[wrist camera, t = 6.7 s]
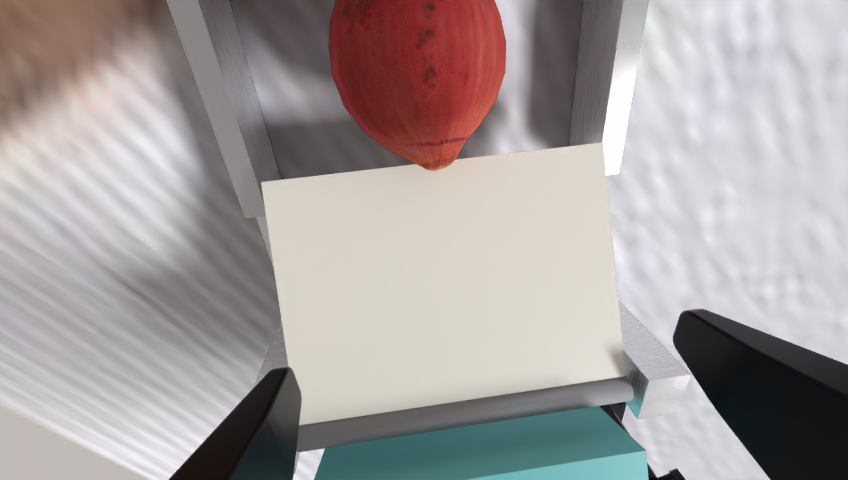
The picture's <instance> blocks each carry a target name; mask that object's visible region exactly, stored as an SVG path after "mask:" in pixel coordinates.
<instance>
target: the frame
mask: <svg viewBox="0 0 848 480" xmlns="http://www.w3.org/2000/svg"><path fill="white" fill-rule="evenodd" d="M166 1H167V4H168V7H169V9H170V12H171V15H172V18H173V21H174V23H175V26H176V29H177V32H178V34H179V37H180V40H181V43H182V46H183V48H184V51H185V54H186V57H187V59H188V62H189V65H190V68H191V71H192V73H193V76H194V79H195V82H196V84H197V87H198V90H199V93H200V96H201V98H202V101H203V104H204V107H205V109H206V112H207V115H208V118H209V121H210V123H211V126H212V129H213V132H214V134H215V137H216V140H217V143H218V146H219V148H220V151H221V154H222V157H223V159H224V162H225V165H226V168H227V170H228V173H229V176H230V179H231V182H232V184H233V187H234V190H235V193H236V195H237V198H238V201H239V204H240V207H241V209H242V212H243V215H244V218H245V219H247V218H255V217H256V219H257V222H258V225H259V228H260V231H261V234H262V237H263V240H264V243H265V245H266V248H267V251H268V254H269V257H270V260H271V263H272V266H273V259H272V253H271V246H270V239H269V232H268V226H267V219H266V212H265V206H264V199H263V192H262V185H261V182H267V181H275V180H281V177H280V174H279V170H278V167H277V163H276V160H275V157H274V153H273V150H272V146H271V143H270V139H269V136H268V132H267V129H266V126H265V122H264V119H263V115H262V112H261V108H260V105H259V101H258V98H257V95H256V91H255V88H254V84H253V81H252V77H251V74H250V70H249V67H248V64H247V60H246V57H245V53H244V50H243V46H242V43H241V39H240V36H239V33H238V29H237V26H236V22H235V19H234V15H233V12H232V8H231V5H230V2H229V0H166ZM648 2H649V0H584V2H583V12H582V22H581V31H580V41H579V51H578V61H577V70H576V80H575V90H574V99H573V109H572V119H571V129H570V138H569V146H576V145H585V144H594V143H602V142H603V144H604V155H605V165H606V175H610V174H618V173H619V168H620V162H621V156H622V151H623V145H624V139H625V133H626V128H627V122H628V116H629V111H630V105H631V99H632V93H633V88H634V82H635V76H636V71H637V65H638V59H639V53H640V48H641V42H642V36H643V31H644V25H645V19H646V13H647V8H648ZM273 269H274V266H273ZM618 303H619V313H620V324H621V334H622V345H623V355H624V366H625V375H626V376H627V377H628V379H629V380H630V382H631V385H632V388H633V392H634V396H633V399H632V401H627V402H626V404H627V405H628V406H629V408H630V409H631V411H632V412H633V414H634V415H635V416H636V418H637V419H642V418H649V417H655V416H661V415H668V414H674V413H677V412H678V409H679V406H680V404H681V401H682V399H683V396H684V393H685V391H686V388H687V385H688V383H689V380H690V378H691V375H692V374H691V373H690V372H689V371H688V370H687V369H686V368H685V367H684V366H683V365H682V364H681V363H680V362H679V361H678V360H677V359H676V358H675V357H674V356H673V355H672V354H671V353H670V352H669V351H668V350H667V349H666V348H665V347H664V346H663V345H662V344H661V343H660V342H659V341H658V340H657V339H656V338H655V337H654V336H653V335H652V334H651V333H650V332H649V331H648V330H647V329H646V328H645V326H644V325H643V324H642V323H641V322H640V321H639V320H638V319H637V318H636V317H635V316H634V315H633V314H632V313H631V312H630V311H629V310H628V309H627V308H626V307H625V306H624V305H623V304H622V303H621V302H620V301H619V300H618ZM282 367H288V360H287V353H286V347H285V340H284V333H283V327H282V320H280V323H279V325H278V328H277V330H276V333H275V335H274V338H273V340H272V343H271V345H270V348H269V350H268V353H267V355H266V358H265V360H264V363H263V365H262V368H261V370H260V373H259V375H258V378H257V380H256V383H255V385H254V387H255V386H256V385H257V384H258V383H259V382H260V380H261V379H262V378H263V377H264V376H265V375H266V374H267V373H268V372H269V371H270V370H272V369H275V368H282ZM298 457H299V452H297V451H296V458H295V467H294V473H295V471H296V466H297V462H298Z"/></svg>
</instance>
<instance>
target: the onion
mask: <svg viewBox="0 0 848 480" xmlns="http://www.w3.org/2000/svg"><path fill="white" fill-rule="evenodd" d="M329 55H330V62H331V69H332V76H333V79H334V81H335V84H336V86H337V89H338V92H339V94H340V97H341V100H342V102H343V105H344V107H345V108H346V109H347V111H348V112H349V113H350V115H351V116H352V117H353V119H354V120H355V121H356V122H357V124H358V125H359V126H360V128H361V129H362V130H363V131H364V132H365V133H366V134H368V135H369V136H370V137H371V138H373V139H374V140H375V141H376V142H378V143H379V144H380V145H381V146H383V147H385V148H386V149H388V150H390V151H392V152H394V153H395V154H397V155H399V156H401V157H403V158H405V159H407V160H409V161H411V162H413V163H415V164H417V165H419V166H421V167H423V168H424V169H426V170H430V171H437V170H441V169H444V168H446V167H448V166H449V165H451V164H452V163H453V162H454V161H455V159H456V158H457V156H458V155H459V152H460V150H461V148H462V147H463V146H464V144H465V143H466V141H467V140H468V138H469V137H470V136H471V135H472V134H473V132H474V131H475V130H476V129H477V127H478V126H479V125H480V124H481V122H482V121H483V119H484V118H485V116H486V115H487V113H488V111H489V110H490V108H491V107H492V105H493V104H494V102H495V101H496V98H497V95H498V92H499V89H500V86H501V83H502V80H503V77H504V74H505V61H506V40H505V35H504V31H503V26H502V21H501V16H500V13H499V11H498V8H497V6H496V3H495V1H494V0H336V2H335V5H334V9H333V13H332V17H331V21H330V30H329Z"/></svg>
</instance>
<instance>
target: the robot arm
mask: <svg viewBox="0 0 848 480" xmlns="http://www.w3.org/2000/svg"><path fill="white" fill-rule="evenodd" d="M673 343H674V346H675V348H676V349H677V351H678V353H679V354H680V356H681V357H682V359H683V360H684V362H685V363H686V365H687V366H688V368H689V369H690V371H691V372H692V374H693V376H694V377H695V379H696V380H697V382H698V383H699V385H700V386H701V388H702V389H703V391H704V392H705V394H706V395H707V397H708V399H709V400H710V401H711V403H712V404H713V406H714V407H715V409H716V410H717V411H718V413H719V414H720V415H721V417H722V418H723V419H724V421H725V422H726V423H727V425H728V426H729V427H730V428H731V430H732V431H733V432H734V434H735V435H736V436H737V437H738V439H739V440H740V441H741V442H742V444H743V445H744V446H745V448H746V449H747V450H748V451H749V453H750V454H751V455H752V457H753V458H754V459H755V460H756V462H757V463H758V464H759V465H760V467H761V468H762V469H763V471H764V472H765V473H766V474H767V476H768V477H769V478H770V480H848V365H847V364H844V363H842V362H839V361H837V360H834V359H831V358H829V357H826V356H824V355H821V354H818V353H816V352H813V351H811V350H808V349H806V348H803V347H800V346H798V345H795V344H793V343H790V342H787V341H785V340H782V339H780V338H777V337H775V336H772V335H769V334H767V333H764V332H762V331H759V330H756V329H754V328H751V327H749V326H746V325H744V324H741V323H738V322H736V321H733V320H731V319H728V318H725V317H723V316H720V315H718V314H715V313H713V312H710V311H707V310H704V309H693V310H686V311H683V312H682V313H681V314H680V316H679V319H678V323H677V326H676V329H675V332H674V335H673ZM301 403H302V396H301V391H300V388H299V385H298V383H297V380H296V377H295V374H294V372H293V370H292V368H290V367H282V368H275V369H272V370H270V371H269V372H268V373H267V374H266V375H265V376H264V377H263V378H262V379H261V380H260V382H259V383H258V384H257V385H256V386H255V387H254V388H253V389H252V390H251V391H250V392H249V393H248V395H247V396H246V397H245V398H244V399H243V400H242V401H241V402H240V403H239V404H238V405H237V406H236V407H235V409H234V410H233V411H232V412H231V413H230V414H229V415H228V416H227V417H226V418H225V419H224V420H223V421H222V423H221V424H220V425H219V426H218V427H217V428H216V429H215V430H214V431H213V432H212V433H211V434H210V436H209V437H208V438H207V439H206V440H205V441H204V442H203V443H202V444H201V445H200V446H199V447H198V448H197V450H196V451H195V452H194V453H193V454H192V455H191V456H190V457H189V458H188V459H187V460H186V461H185V463H184V464H183V465H182V466H181V467H180V468H179V469H178V470H177V471H176V472H175V473H174V474H173V475H172V477H171V478H170V479H169V480H293V474H294V467H295V458H296V449H297V440H298V431H299V421H300V412H301ZM599 407H600V408H601V409H602V410H603V411H605V412H606V413H607V414H608V415H609V416H610V417H611V418H612V419H613V420H614V421H615V422H616V423H617V424H618V425H619V426H620V427H621V428H623V429H624V430H625V431H626V432H627V433H628V431H627V430H626V428H625V427H624V425H623V424H622V418H623V415H624V411H625V407H626V402H621V403H614V404H608V405H601V406H599ZM628 434H629V433H628ZM629 435H630V434H629ZM647 468H648V478H649V480H685V478H684V477H683V476H682V475H681V473H680V472H679V471H678V469H677V468H676V469H674V470H671V471H669V474H666V475H664V476H661V477H659V478H657V477H656V475H655V474H654V472H653V471H652V469H651V467H650V466H649V464H648V463H647Z"/></svg>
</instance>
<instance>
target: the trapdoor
mask: <svg viewBox="0 0 848 480" xmlns="http://www.w3.org/2000/svg"><path fill="white" fill-rule="evenodd" d="M261 185H262V192H263V199H264V206H265V212H266V219H267V226H268V232H269V239H270V246H271V253H272V259H273V266H274V273H275V279H276V286H277V293H278V300H279V306H280V313H281V320H282V327H283V333H284V340H285V347H286V353H287V360H288V367H290V368H292V370H293V372H294V374H295V377H296V380H297V383H298V385H299V388H300V391H301V396H302V403H301V412H300V421H299V431H298V440H297V449H296V451H297V452H303V451H310V450H316V449H323V448H325V450H324V453H323V456H322V459H321V462H320V465H319V467H318V470H317V473H316V476H315V479H314V480H649V478H648V468H647V457H646V450H645V449H644V448H643V447H642V446H641V445H640V444H638V443H637V442H636V441H635V440H634V439H633V438H632V437H631V436H630V435H629V434H628V433H627V432H626V431H625V430H624V429H623V428H621V427H620V426H619V425H618V424H617V423H616V422H615V421H614V420H613V419H612V418H611V417H610V416H609V415H608V414H607V413H606V412H605V411H603V410H602V409H601V408H600V407H599V406H601V405H608V404H614V403H621V402H627V401H632V399H633V396H634V392H633V388H632V385H631V382H630V380H629V379H628V377H627V376H626V375H625V366H624V355H623V345H622V334H621V324H620V313H619V303H618V292H617V281H616V271H615V260H614V250H613V239H612V229H611V218H610V208H609V197H608V186H607V176H606V165H605V155H604V144H603V142H602V143H594V144H585V145H576V146H568V147H559V148H551V149H542V150H533V151H525V152H516V153H508V154H499V155H490V156H482V157H473V158H465V159H456V160H455V161H454V162H453V163H452V164H451V165H449V166H448V167H446V168H444V169H441V170H437V171H430V170H426V169H424V168H423V167H421V166H419V165H417V164H413V165H404V166H396V167H387V168H379V169H370V170H361V171H353V172H344V173H336V174H327V175H318V176H310V177H301V178H293V179H284V180H275V181H267V182H261Z"/></svg>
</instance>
